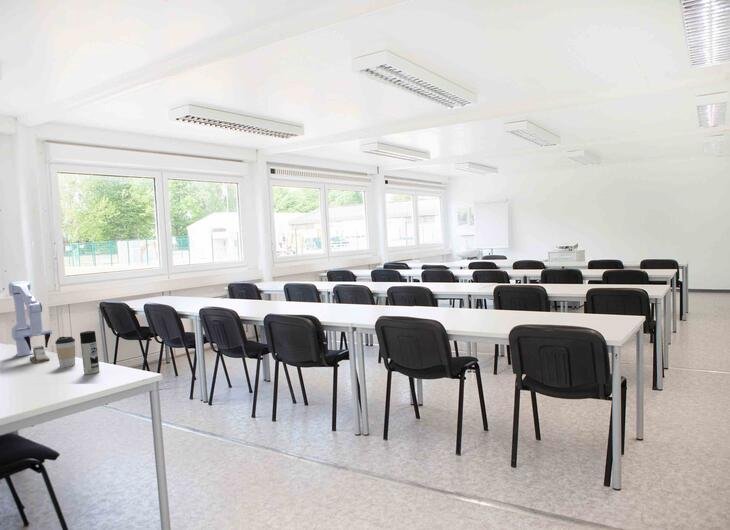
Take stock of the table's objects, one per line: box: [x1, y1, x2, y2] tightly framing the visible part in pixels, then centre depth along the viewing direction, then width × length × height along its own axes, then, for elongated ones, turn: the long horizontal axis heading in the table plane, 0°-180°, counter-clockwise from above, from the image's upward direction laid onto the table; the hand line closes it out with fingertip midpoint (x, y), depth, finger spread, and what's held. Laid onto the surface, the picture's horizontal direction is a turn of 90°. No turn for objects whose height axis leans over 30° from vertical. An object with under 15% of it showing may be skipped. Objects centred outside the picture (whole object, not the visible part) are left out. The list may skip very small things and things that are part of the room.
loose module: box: [32, 345, 45, 358], centre depth 297 cm, size 5×4×6 cm
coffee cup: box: [54, 336, 76, 368], centre depth 276 cm, size 9×9×15 cm
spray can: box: [79, 330, 100, 375], centre depth 255 cm, size 7×7×20 cm
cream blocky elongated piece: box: [29, 347, 50, 364], centre depth 298 cm, size 17×8×6 cm, turn 37°
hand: (38, 348), depth 297 cm, fingers open, 7 cm apart
